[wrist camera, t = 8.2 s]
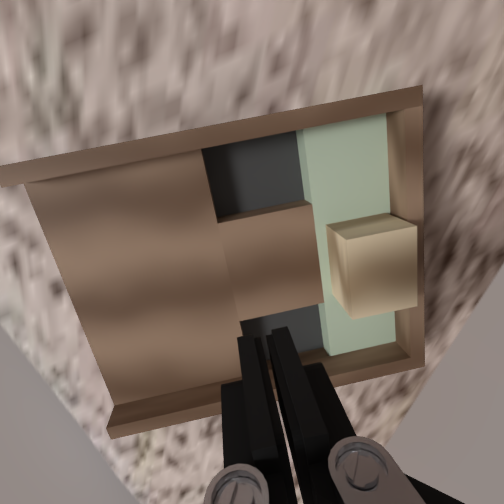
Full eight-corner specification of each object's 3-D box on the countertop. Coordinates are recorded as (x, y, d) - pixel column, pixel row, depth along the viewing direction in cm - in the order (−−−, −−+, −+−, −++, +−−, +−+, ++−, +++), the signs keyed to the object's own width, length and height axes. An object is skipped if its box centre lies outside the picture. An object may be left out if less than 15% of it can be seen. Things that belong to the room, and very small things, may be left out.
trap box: (34, 162, 20) (-8, 167, 16) (385, 94, 21) (422, 84, 17) (125, 396, 26) (111, 439, 22) (395, 334, 27) (424, 366, 23)
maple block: (325, 224, 21) (346, 240, 18) (385, 212, 21) (417, 225, 18) (332, 293, 23) (352, 319, 20) (388, 282, 23) (417, 306, 20)
